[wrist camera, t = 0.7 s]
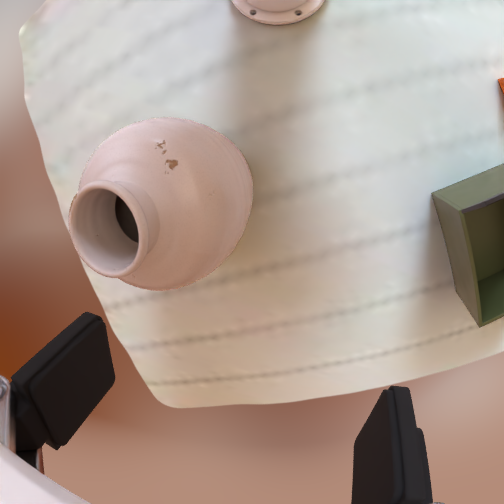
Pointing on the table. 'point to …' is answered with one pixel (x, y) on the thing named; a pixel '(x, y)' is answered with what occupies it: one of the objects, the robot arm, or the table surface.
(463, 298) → the olive green hollow box
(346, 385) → the table surface
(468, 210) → the flap
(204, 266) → the vase
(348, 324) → the table surface
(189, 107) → the table surface
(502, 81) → the block
